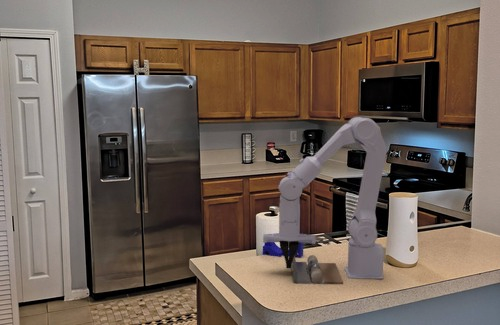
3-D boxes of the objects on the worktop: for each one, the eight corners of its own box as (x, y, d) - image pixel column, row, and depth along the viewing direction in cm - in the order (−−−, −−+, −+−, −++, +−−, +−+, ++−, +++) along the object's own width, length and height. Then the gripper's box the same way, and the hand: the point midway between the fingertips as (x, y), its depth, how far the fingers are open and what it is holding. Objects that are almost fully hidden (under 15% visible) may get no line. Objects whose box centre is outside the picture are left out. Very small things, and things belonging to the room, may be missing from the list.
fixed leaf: (335, 265, 142) (335, 255, 141) (342, 284, 127) (343, 273, 126) (307, 265, 142) (307, 255, 142) (311, 284, 127) (311, 272, 127)
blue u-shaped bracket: (262, 255, 151) (262, 237, 151) (267, 251, 155) (267, 233, 155) (299, 260, 147) (299, 241, 146) (303, 256, 151) (303, 237, 150)
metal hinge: (317, 264, 142) (317, 254, 142) (322, 283, 127) (323, 272, 127) (291, 264, 142) (291, 254, 142) (293, 283, 127) (293, 271, 127)
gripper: (314, 217, 137) (313, 262, 138) (263, 216, 137) (263, 261, 139) (316, 223, 130) (315, 271, 131) (263, 222, 130) (262, 270, 132)
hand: (288, 267), depth 135 cm, fingers closed
